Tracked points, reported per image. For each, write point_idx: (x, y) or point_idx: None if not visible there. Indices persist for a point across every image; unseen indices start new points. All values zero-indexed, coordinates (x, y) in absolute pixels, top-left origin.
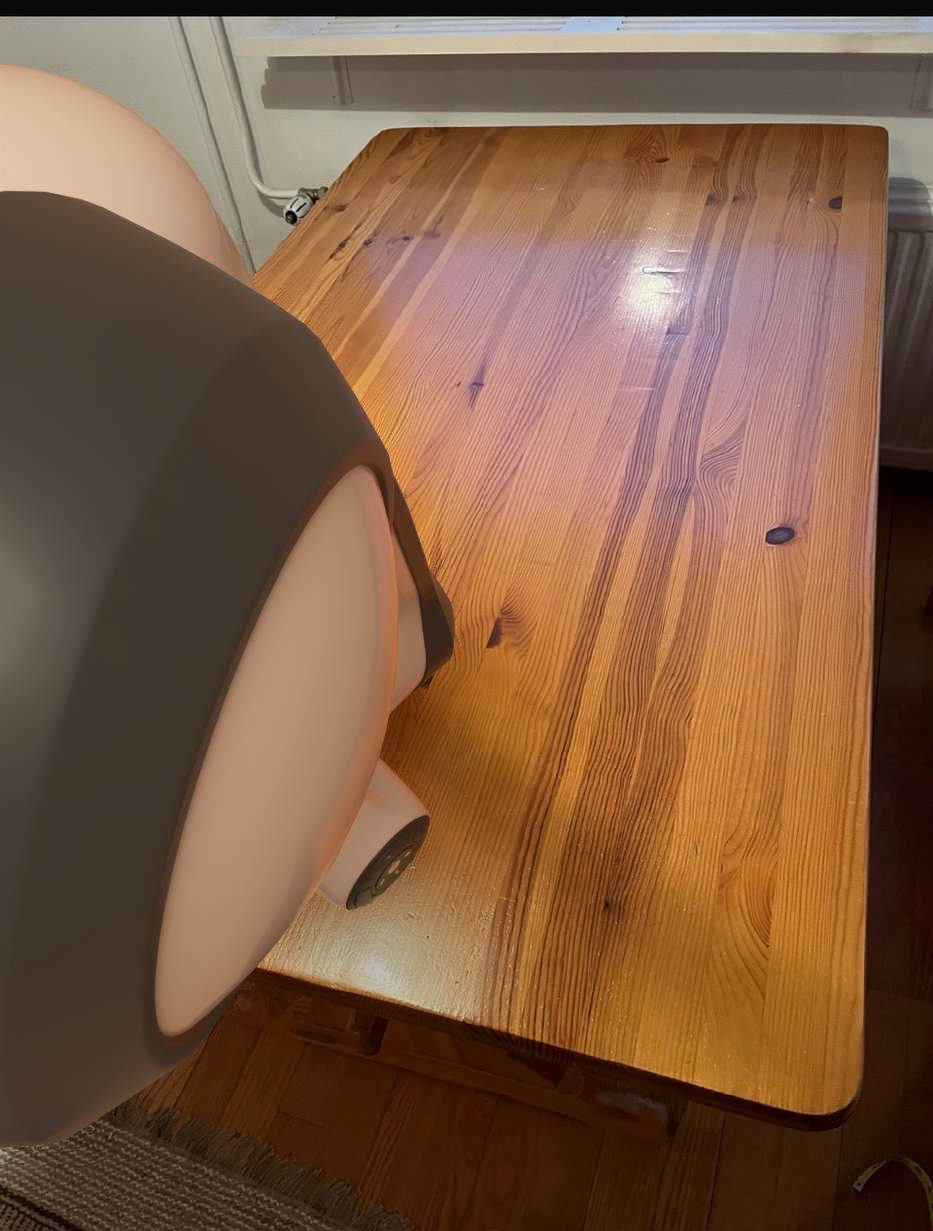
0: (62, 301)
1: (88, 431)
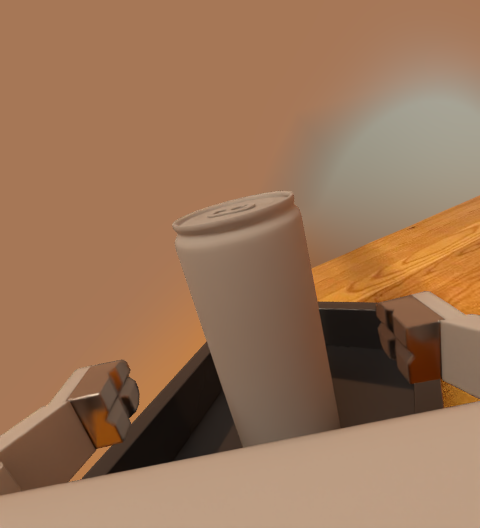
0: None
1: None
